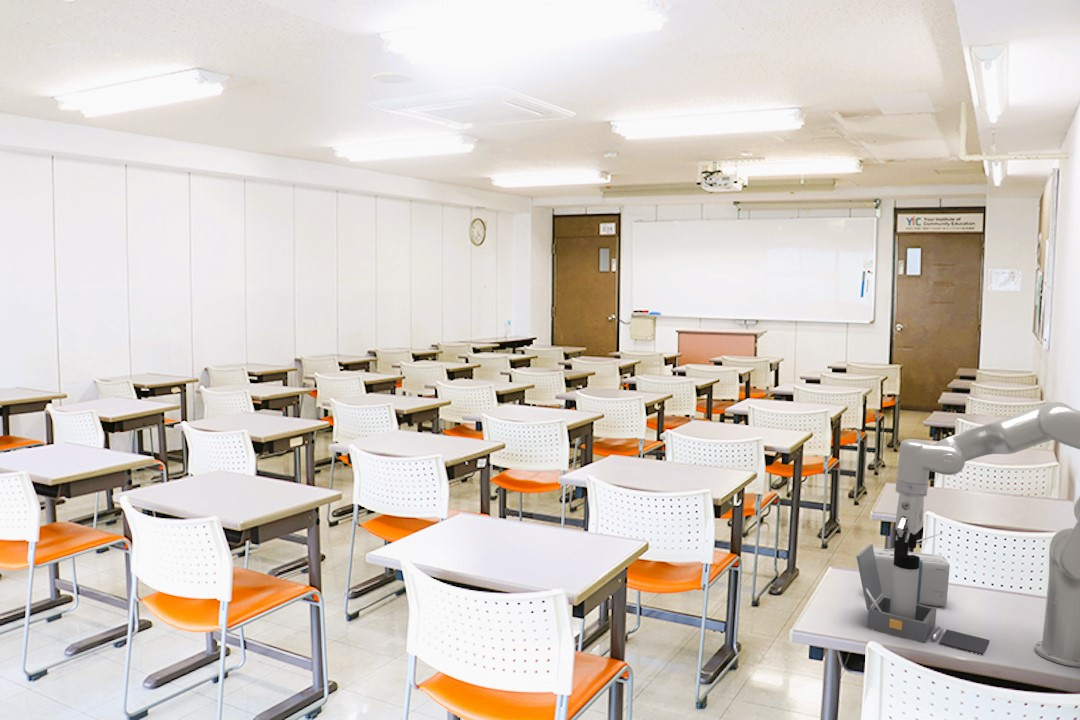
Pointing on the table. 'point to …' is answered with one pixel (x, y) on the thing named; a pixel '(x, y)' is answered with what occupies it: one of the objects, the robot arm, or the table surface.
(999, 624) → the table surface
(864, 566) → the case
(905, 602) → the travel mug
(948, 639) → the pad
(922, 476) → the robot arm
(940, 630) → the rod
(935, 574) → the stereo radio cassette player
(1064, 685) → the table surface
